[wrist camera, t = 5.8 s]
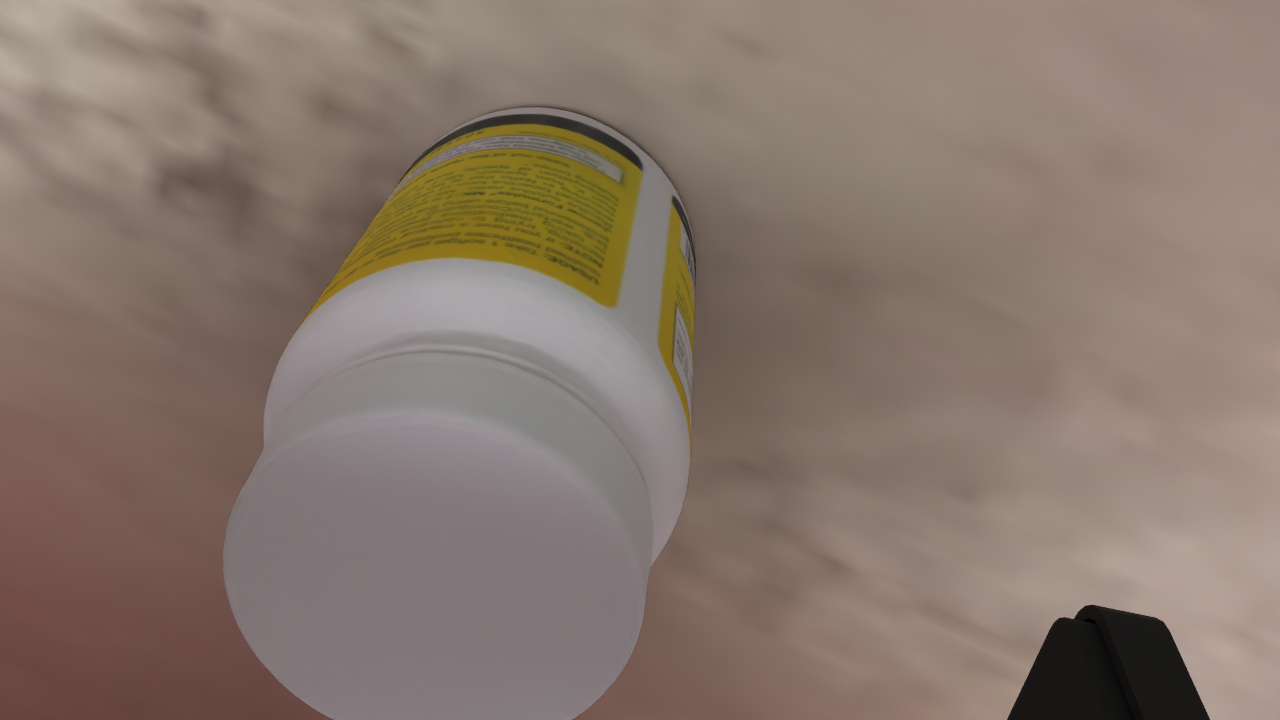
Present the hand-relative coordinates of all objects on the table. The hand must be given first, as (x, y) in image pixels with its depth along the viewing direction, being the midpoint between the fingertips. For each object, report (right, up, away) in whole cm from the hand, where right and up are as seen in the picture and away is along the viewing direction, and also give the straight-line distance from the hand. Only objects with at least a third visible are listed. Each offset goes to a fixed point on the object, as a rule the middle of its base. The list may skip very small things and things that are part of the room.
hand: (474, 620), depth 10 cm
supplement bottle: (0, +4, +9) cm, 10 cm away
